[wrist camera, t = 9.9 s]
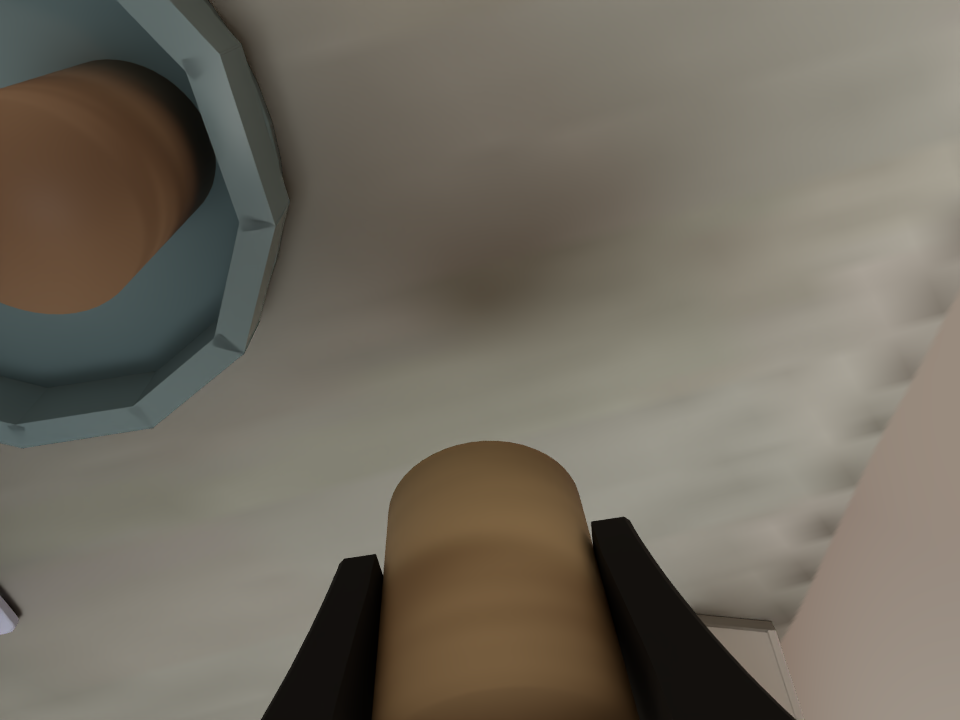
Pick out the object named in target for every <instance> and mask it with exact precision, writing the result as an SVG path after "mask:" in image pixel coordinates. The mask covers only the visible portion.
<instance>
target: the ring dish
mask: <svg viewBox="0 0 960 720" xmlns="http://www.w3.org/2000/svg"><path fill="white" fill-rule="evenodd" d="M104 59H110V60H121V61H127V62H131V63H135V64H138V65H141V66H144V67H146V68H148V69H150V70H153V71H155V72H156V73H158V74H160V75H161V76H163V77H165V78H166V79H168V80H169V81H170V82H172V83H173V84H174V85H176V86H177V87H178V88H179V89H180V90H181V91H182V92H183V93H184V94H185V95H186V96H187V97H188V98H189V99H190V100H191V101H192V103H193V104H194V105H195V107H196V108H197V109H198V111H199V112H200V114H201V116H202V119H203V122H204V124H205V127H206V130H207V133H208V136H209V138H210V141H211V144H212V147H213V150H214V153H215V156H216V170H215V177H214V181H213V185H212V188H211V190H210V192H209V194H208V196H207V197H206V199H205V201H204V202H203V203H202V204H201V205H200V207H199V208H198V209H197V210H196V211H195V212H194V213H193V214H192V215H191V216H190V217H189V218H188V219H187V221H186V222H185V223H184V224H183V225H182V226H181V227H180V228H179V229H178V230H177V231H176V232H175V233H174V234H173V235H172V237H171V238H170V239H169V240H168V241H167V242H166V243H165V244H164V245H163V246H162V247H161V248H160V249H159V250H158V252H157V253H156V254H155V255H154V256H153V257H152V258H151V259H150V260H149V261H148V262H147V263H146V264H145V265H144V267H143V268H142V269H141V270H140V271H139V272H138V273H137V274H136V275H135V276H134V277H133V278H132V279H131V280H130V282H129V283H128V284H127V285H126V286H125V287H124V288H123V289H122V290H121V291H120V292H119V293H118V294H117V295H116V296H114V297H113V298H112V299H110V300H109V301H107V302H105V303H104V304H102V305H100V306H98V307H95V308H92V309H90V310H87V311H82V312H78V313H71V314H43V313H35V312H30V311H25V310H21V309H17V308H14V307H11V306H8V305H5V304H3V303H0V443H2V444H7V445H11V446H15V447H19V448H27V447H33V446H40V445H46V444H53V443H59V442H66V441H72V440H79V439H85V438H92V437H98V436H105V435H111V434H118V433H124V432H131V431H137V430H143V429H150V428H154V426H156V425H157V424H158V423H159V422H161V421H162V420H163V419H164V418H166V417H167V416H168V415H169V414H170V413H172V412H173V411H174V410H175V409H177V408H178V407H179V406H180V405H181V404H183V403H184V402H185V401H186V400H188V399H189V398H190V397H191V396H193V395H194V394H195V393H196V392H197V391H199V390H200V389H201V388H202V387H204V386H205V385H206V384H207V383H208V382H210V381H211V380H212V379H213V378H215V377H216V376H217V375H218V374H220V373H221V372H222V371H223V370H224V369H226V368H227V367H228V366H229V365H231V364H232V363H233V362H234V361H235V360H237V359H238V358H239V357H240V356H242V355H243V354H244V353H245V351H246V349H247V347H248V345H249V342H250V340H251V338H252V336H253V334H254V332H255V330H256V328H257V326H258V324H259V322H260V321H259V320H260V316H261V312H262V309H263V305H264V301H265V297H266V293H267V289H268V285H269V281H270V279H271V276H272V273H273V270H274V267H275V264H276V261H277V258H278V254H279V249H280V243H281V237H282V232H283V226H284V222H285V218H286V214H287V211H288V207H289V203H290V201H289V198H288V194H287V191H286V188H285V185H284V181H283V175H282V165H281V157H280V153H279V149H278V145H277V141H276V136H275V132H274V128H273V124H272V121H271V118H270V115H269V112H268V110H267V107H266V104H265V102H264V99H263V96H262V93H261V91H260V88H259V85H258V83H257V81H256V79H255V77H254V75H253V73H252V71H251V69H250V67H249V65H248V63H247V61H246V58H245V54H244V51H243V48H242V44H241V43H240V42H239V41H238V40H237V39H236V38H235V37H234V36H233V34H232V33H231V32H230V31H229V30H228V28H227V27H226V25H225V24H224V22H223V21H222V19H221V18H220V16H219V15H218V13H217V12H216V10H215V8H214V7H213V6H212V4H211V3H210V2H209V1H208V0H0V88H4V87H7V86H10V85H14V84H17V83H20V82H23V81H27V80H30V79H33V78H37V77H40V76H43V75H46V74H50V73H53V72H56V71H60V70H63V69H66V68H69V67H73V66H76V65H79V64H82V63H86V62H90V61H94V60H104Z"/></svg>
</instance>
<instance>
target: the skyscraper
mask: <svg viewBox="0 0 960 720" xmlns="http://www.w3.org/2000/svg"><path fill="white" fill-rule="evenodd" d="M697 616H698V617H699V618H700V619H701V621H702V622H703V623H704V624H705V625H706V626H707V628H708V629H709V630H710V631H711V632H712V633H713V635H714V636H715V637H716V638H717V639H718V640H719V641H720V642H721V644H722V645H723V646H724V647H725V648H726V649H727V650H728V651H729V653H730V654H731V655H732V656H733V657H734V658H735V659H736V660H737V661H738V662H739V663H740V664H741V666H742V667H743V668H744V669H745V670H746V671H747V672H748V673H749V674H750V675H751V676H752V677H753V678H754V679H755V680H756V681H757V682H758V683H759V684H760V685H761V686H762V687H763V688H764V689H765V690H766V691H767V692H768V693H769V694H770V695H771V696H772V697H773V698H774V699H775V700H776V701H777V702H778V703H779V704H780V705H781V706H782V707H783V708H784V709H785V710H786V711H787V712H788V713H790V714H791V715H792V716H793V717H794V718H795V719H796V720H805V719H804V716H803V713H802V710H801V706H800V703H799V700H798V697H797V694H796V691H795V688H794V685H793V682H792V679H791V675H790V673H789V670H788V666H787V663H786V660H785V657H784V654H783V651H782V648H781V645H780V642H779V639H778V636H777V633H776V630H775V628H774V626H773V624H772V622H770V621H760V620H749V619H738V618H728V617H717V616H707V615H697Z"/></svg>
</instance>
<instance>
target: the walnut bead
mask: <svg viewBox="0 0 960 720" xmlns="http://www.w3.org/2000/svg"><path fill="white" fill-rule="evenodd" d="M215 170H216V156H215V153H214V150H213V147H212V144H211V141H210V138H209V136H208V133H207V130H206V127H205V124H204V122H203V119H202V116H201V114H200V112H199V111H198V109H197V108H196V107H195V105H194V104H193V103H192V101H191V100H190V99H189V98H188V97H187V96H186V95H185V94H184V93H183V92H182V91H181V90H180V89H179V88H178V87H177V86H176V85H174V84H173V83H172V82H170V81H169V80H168V79H166V78H165V77H163V76H161V75H160V74H158V73H156V72H155V71H153V70H150V69H148V68H146V67H144V66H141V65H138V64H135V63H131V62H127V61H121V60H110V59H104V60H94V61H90V62H86V63H82V64H79V65H76V66H73V67H69V68H66V69H63V70H60V71H56V72H53V73H50V74H46V75H43V76H40V77H37V78H33V79H30V80H27V81H23V82H20V83H17V84H14V85H10V86H7V87H4V88H0V303H3V304H5V305H8V306H11V307H14V308H17V309H21V310H25V311H30V312H35V313H43V314H71V313H78V312H82V311H87V310H90V309H92V308H95V307H98V306H100V305H102V304H104V303H105V302H107V301H109V300H110V299H112V298H113V297H114V296H116V295H117V294H118V293H119V292H120V291H121V290H122V289H123V288H124V287H125V286H126V285H127V284H128V283H129V282H130V280H131V279H132V278H133V277H134V276H135V275H136V274H137V273H138V272H139V271H140V270H141V269H142V268H143V267H144V265H145V264H146V263H147V262H148V261H149V260H150V259H151V258H152V257H153V256H154V255H155V254H156V253H157V252H158V250H159V249H160V248H161V247H162V246H163V245H164V244H165V243H166V242H167V241H168V240H169V239H170V238H171V237H172V235H173V234H174V233H175V232H176V231H177V230H178V229H179V228H180V227H181V226H182V225H183V224H184V223H185V222H186V221H187V219H188V218H189V217H190V216H191V215H192V214H193V213H194V212H195V211H196V210H197V209H198V208H199V207H200V205H201V204H202V203H203V202H204V201H205V199H206V197H207V196H208V194H209V192H210V190H211V188H212V185H213V181H214V177H215Z"/></svg>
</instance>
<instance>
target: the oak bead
mask: <svg viewBox="0 0 960 720" xmlns="http://www.w3.org/2000/svg"><path fill="white" fill-rule="evenodd" d="M372 720H640V719H639V715H638V711H637V708H636V704H635V700H634V697H633V693H632V689H631V685H630V682H629V678H628V674H627V671H626V667H625V663H624V660H623V656H622V652H621V648H620V645H619V641H618V637H617V634H616V630H615V626H614V622H613V619H612V615H611V611H610V608H609V604H608V600H607V597H606V593H605V590H604V586H603V582H602V579H601V575H600V571H599V568H598V564H597V560H596V556H595V553H594V549H593V544H592V541H591V537H590V533H589V530H588V526H587V522H586V518H585V515H584V511H583V507H582V504H581V500H580V496H579V493H578V490H577V487H576V485H575V483H574V481H573V479H572V478H571V476H570V475H569V474H568V472H567V471H566V470H565V469H564V468H563V467H562V466H561V465H560V464H559V463H558V462H557V461H555V460H554V459H552V458H551V457H549V456H548V455H546V454H544V453H542V452H540V451H538V450H536V449H533V448H530V447H527V446H524V445H520V444H516V443H511V442H502V441H479V442H470V443H465V444H460V445H456V446H453V447H450V448H447V449H444V450H442V451H439V452H437V453H435V454H433V455H431V456H429V457H427V458H426V459H424V460H422V461H421V462H420V463H418V464H417V465H416V466H414V467H413V468H412V469H411V470H410V471H409V472H408V473H407V474H406V475H405V476H404V477H403V479H402V480H401V481H400V483H399V484H398V486H397V487H396V489H395V491H394V493H393V496H392V498H391V501H390V506H389V513H388V525H387V537H386V550H385V562H384V574H383V586H382V599H381V611H380V623H379V635H378V648H377V660H376V672H375V684H374V697H373V709H372Z"/></svg>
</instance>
